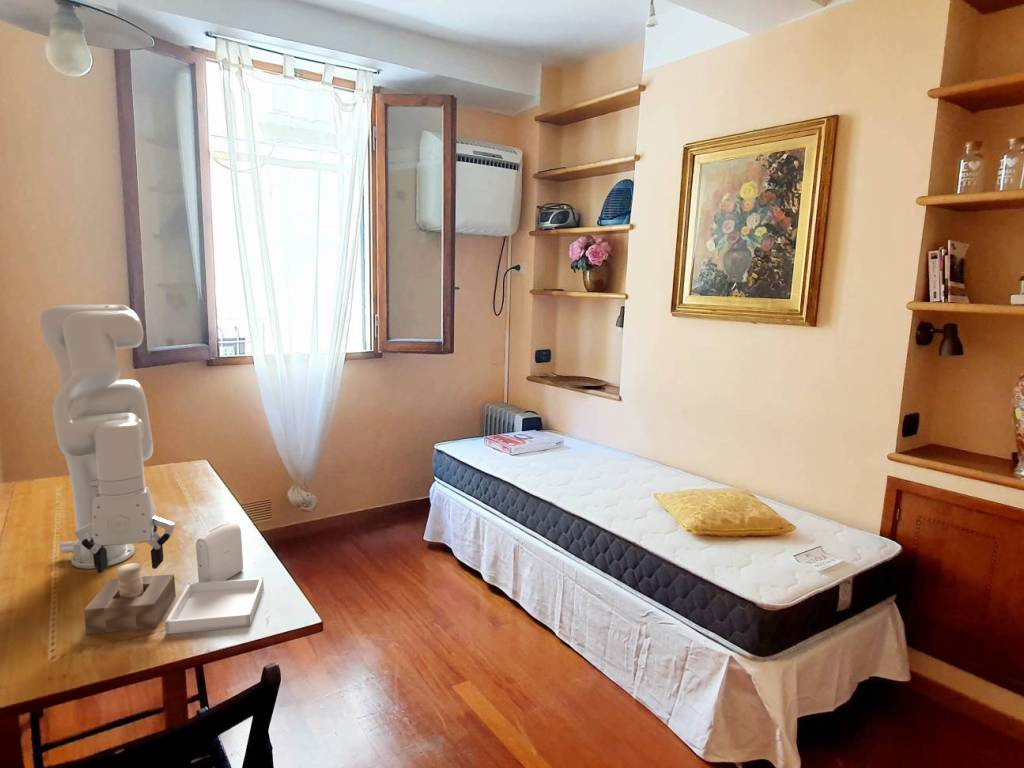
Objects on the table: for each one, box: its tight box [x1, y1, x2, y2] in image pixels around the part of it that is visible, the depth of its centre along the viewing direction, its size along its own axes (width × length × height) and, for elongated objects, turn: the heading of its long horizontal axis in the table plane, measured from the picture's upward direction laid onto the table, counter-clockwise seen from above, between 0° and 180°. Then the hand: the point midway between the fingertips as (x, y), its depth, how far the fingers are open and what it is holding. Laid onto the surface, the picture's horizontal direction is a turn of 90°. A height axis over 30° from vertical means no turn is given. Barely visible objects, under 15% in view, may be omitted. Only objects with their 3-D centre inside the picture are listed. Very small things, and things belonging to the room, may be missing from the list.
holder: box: [83, 574, 177, 635], centre depth 123 cm, size 12×12×5 cm
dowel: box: [116, 562, 143, 598], centre depth 122 cm, size 4×4×10 cm
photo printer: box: [195, 522, 244, 583], centre depth 137 cm, size 10×4×12 cm, turn 158°
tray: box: [164, 577, 265, 635], centre depth 125 cm, size 15×15×2 cm
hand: (130, 567), depth 121 cm, fingers open, 9 cm apart
